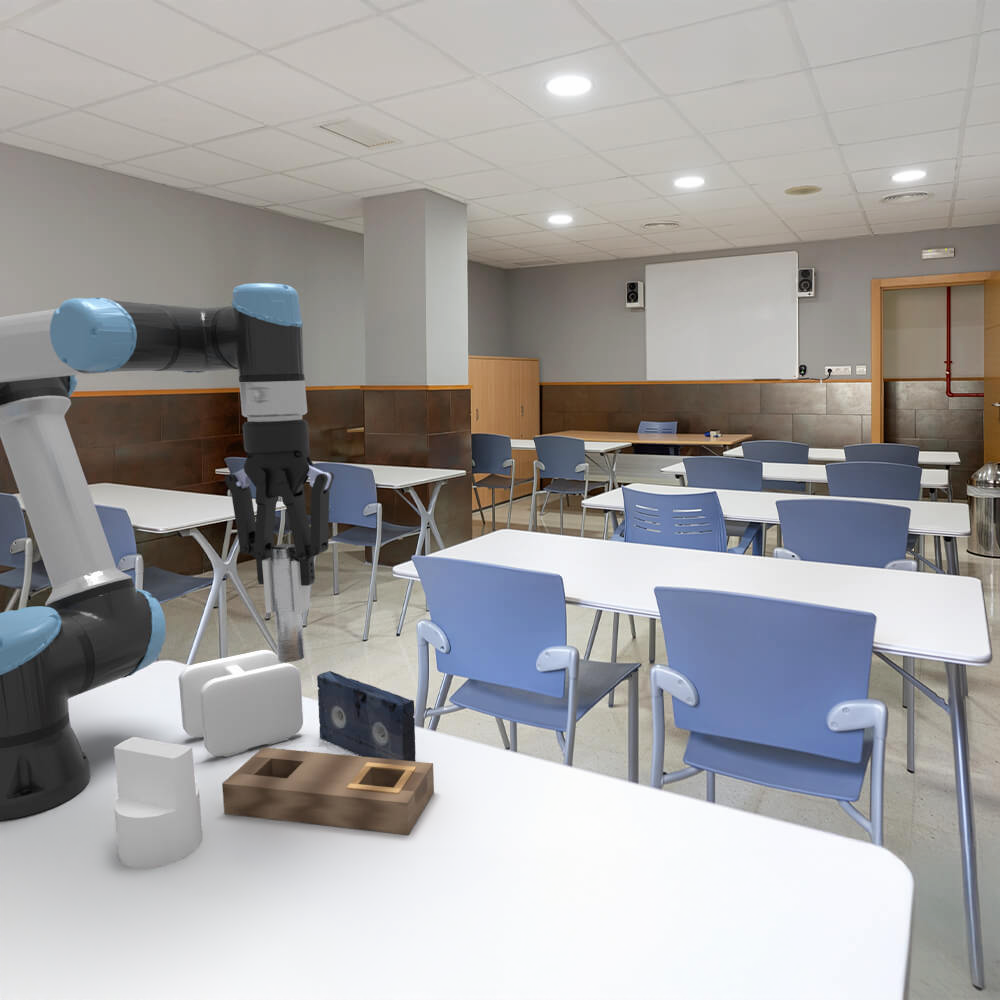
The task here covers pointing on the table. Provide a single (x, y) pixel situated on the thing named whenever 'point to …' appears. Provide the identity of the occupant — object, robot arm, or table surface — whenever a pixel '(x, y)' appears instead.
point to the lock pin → (286, 605)
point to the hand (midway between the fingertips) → (288, 609)
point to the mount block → (330, 790)
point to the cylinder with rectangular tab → (156, 803)
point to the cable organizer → (241, 702)
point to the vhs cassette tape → (365, 718)
